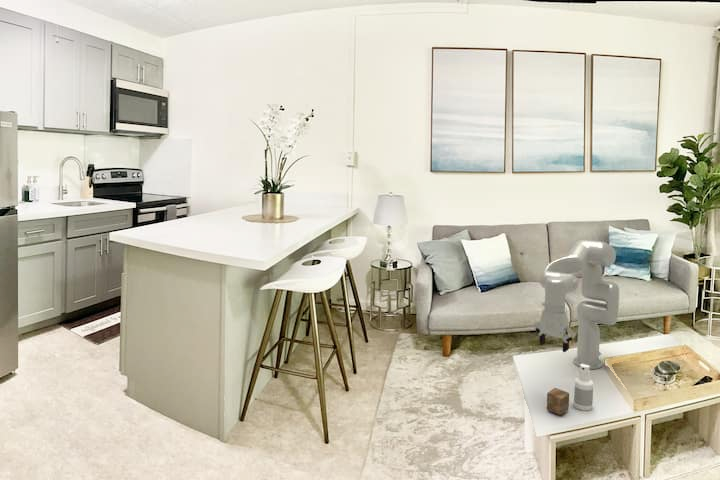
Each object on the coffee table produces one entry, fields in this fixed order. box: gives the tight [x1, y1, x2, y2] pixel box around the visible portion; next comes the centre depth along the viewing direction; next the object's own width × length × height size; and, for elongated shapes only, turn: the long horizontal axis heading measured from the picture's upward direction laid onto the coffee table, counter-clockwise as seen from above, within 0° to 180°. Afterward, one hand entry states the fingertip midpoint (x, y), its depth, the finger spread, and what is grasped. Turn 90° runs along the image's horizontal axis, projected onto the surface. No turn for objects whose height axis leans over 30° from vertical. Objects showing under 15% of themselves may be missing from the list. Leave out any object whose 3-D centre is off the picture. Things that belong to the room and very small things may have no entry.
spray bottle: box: [573, 364, 594, 412], centre depth 191 cm, size 7×7×18 cm
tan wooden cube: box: [546, 387, 570, 416], centre depth 189 cm, size 6×6×7 cm
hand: (553, 347), depth 193 cm, fingers open, 9 cm apart
